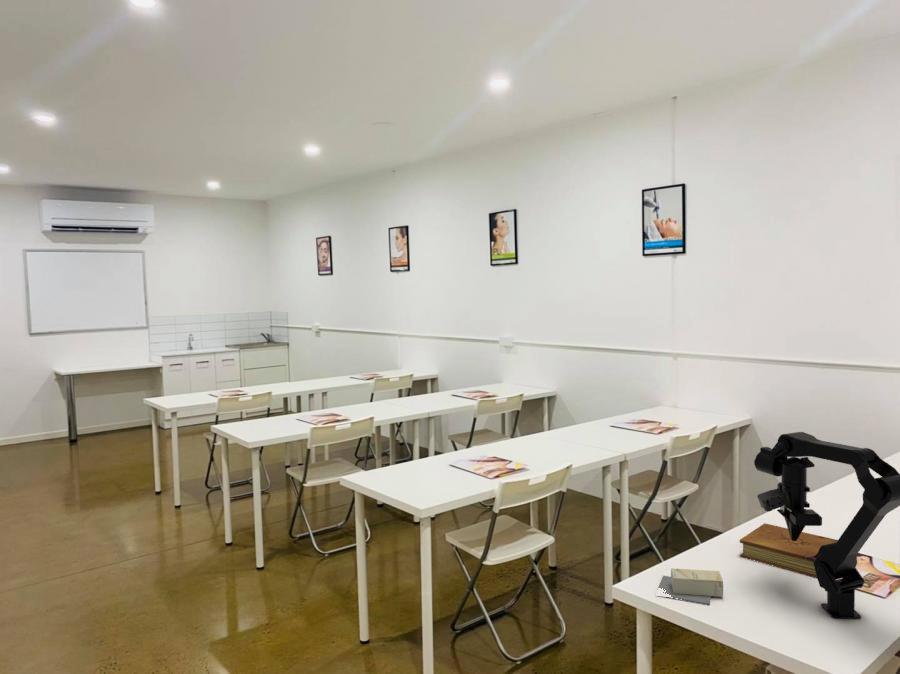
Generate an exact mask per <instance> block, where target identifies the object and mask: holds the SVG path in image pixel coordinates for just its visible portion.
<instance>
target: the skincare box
mask: <svg viewBox="0 0 900 674" xmlns="http://www.w3.org/2000/svg"><path fill="white" fill-rule="evenodd" d="M670 577H671V585H672V589H673V593H674V594H689V595H703V596H711V597H719V598H722V597H724V580H723V578H722V574H721V572H720V571H719V570H705V569H691V568H690V569H688V568H670Z"/></svg>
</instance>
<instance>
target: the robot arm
mask: <svg viewBox="0 0 900 674" xmlns="http://www.w3.org/2000/svg"><path fill="white" fill-rule="evenodd" d="M809 457H812V458H817V459H821V460H827V461H831V462H836V463H840V464H845V465H850V466H851V467H852V468H853V470H854V471H855V475H856V478H857V481H858V483H859V485H860V486H861V487H862V488H863V489H864V490H863V492H862V505H861V506H860V508H859V509H858V510H857V512H856V513H855V515H854V517H853V518H852V519H851V521H850V522H849V524H848V525H847V527H845V529H844V531H843V532H842V533H841V535H840V537H838V539H837V540H838V541H837V542H835V543H831V544H827V545H823V546H821V547H820V549H819V551H818V553H817V554H816V555H814V558H816V559H815V560H814V564H813V565H814V566H815V571H816V575H817V578H816V579H817V582H818V585H819V588H821V589H824V591H825V592H826V603H825V602H822V603H820V607H822V609H824V610H825V611H826V612H827V614H828V615H829V616H830V617H831V618H833V619H862V615H861V614H860V613H858V612H857V611H856V609H855V606H856V605H855V604H856V603H855V601H856V600H855V599H856V596H855V595H856V591H855V590H857V589H861V588H863V587H864V584H865V579H864V578H863V577H862V575H861V573H860V572H859V570H858V569H857V564H858V553H859V552H860V551H861V549H862V548H863V546H864V545H865V544H866V542H867V541H868V540H869V539H870V537H871V536H872V534H873V533H874V531H875V530H876V529H877V527H878V526H879V525H880V523H881V522H882V520H884V518H885V516H886V515H887V514H889V513H890V512H892V511H893V510H895V509H896V508H898V507H900V473H899V472H898V470H897V469H896V468H895V467H893V466H892V465H891V464H889V463H888V462H886V461H885V460H883V459H882V458H881V457H880V456H879V455H878V454H877V453H876V451H874V450H873V449H871V448H869V447H859V446H858V447H857V446H854V445H853V446H852V445H848V444H843V443H842V444H841V443H836V442H832V441H825V440H821V439H818V438H817V437H816V436H814V435H812V434H810V433H807V432H804V431H796V432H789V433H783V434H780V435H779V437H778V439H777V442H776V443H775V445H774V446H773V448H772V447H769V446H762V447H760V451H759V452H758V453H757V455H756V456H755V457H754V458H755V459H754V466H755V467H754V468H755V469H756V470H757V471H759V472H761V473H763V474H764V473H765V474H768V475H770V476H773V477H781V481H780V482H778V483H777V486H776V487H777V488H774V489H770V490H767V491H764V492H762V493H759V494H757V496H756V497H757V499H758V501H759V502H758V503H759V504H760V507H761V508H762V509H764V511H765V512H772V511H773V510H776V511H777V512H778V513H779V514H780V515H781V516H782V517H783V518H784V520H785V524H786V528H788V531H789V535H790V538H791V540H792V541H797V539H798V537H799V536H800V534H801V532H804V529H805V528H806V527H820V526H823V517H822V516H821V515H820V514H819V513H818V512H816V511H815V510H813V509H811V508H810V507H811V506H810V505H811V504H810V503H809V502H808V501H807V497H808V496H807V495H808V493H809V492H811V491H810V490H811V488H810V487H809V486H808V482H807V481H808V476H807V472H808V471H807V469H810V468H814V467H815V463H814V462H813V461H812V460H810V459H809ZM870 470H871V471H873V472H875V473H876V474H877V475H879V476H880V477H874V475H873V474H872V473H871V471H870ZM807 492H808V493H807ZM807 508H810V509H807Z"/></svg>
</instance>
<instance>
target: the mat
mask: <svg viewBox="0 0 900 674" xmlns="http://www.w3.org/2000/svg"><path fill="white" fill-rule="evenodd" d="M658 588H661V589H662V588H663V590H664V589H665V590H666V592H665V594H666V593H667V594H669V595H671V597H673V598H678V599H682V600H686V601H685V602H688V601H690V602H689V603H694V602H696V604H699V603H702V604H701V605H705V604H707V605H706V606H710V605H711V601H710V600H711V599H712V596H703V595H689V594H674V593H673V589H672V585H671V576H667V575H662V577H661V580H660V582H659V585H658ZM658 588H657V589H658ZM665 590H664V591H665ZM663 593H664V592H663ZM682 600H681V601H682Z"/></svg>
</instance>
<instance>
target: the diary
mask: <svg viewBox="0 0 900 674" xmlns="http://www.w3.org/2000/svg"><path fill="white" fill-rule="evenodd" d="M837 541H838V539H835V538H830V537H826V536H821V535H817V534H813V533H808V532H804V531H802V532H801V534H800V536H799V537H798V539H797V541H792V540H791V538H790V535H789V531H788V528H787V527H782V526H778V525H774V524H770V523H766V522H765V523H763V524H762V525H759V526H758V527H756V528H755V529H754V530H752V531H750V532H749V533H748V534H746V535H745V536H743V537H742V538H740V539H739V544H742V553H740V554H739V558H743V559H746V558H747V560H750V559H751V560H750V561H753V560H755V562H757V561H758V563H761V562H762V563H761V564H764V563H765V564H764V565H768V564H769V565H768V566H772V565H773V566H772V567H775V566H776V568H779V567H780V569H783V570H787V571H791V572H794V573H797V572H798V574H802V575H804V574H805V576H808V575H809V576H808V577H812V576H813V577H812V578H815V577H817V575H816V571H815V566H814V565H813V564H814V560H815V559H816V558H814V555H816V554H817V553H818V551H819V549H820V547H821V546H823V545H827V544H831V543H835V542H837Z"/></svg>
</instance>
